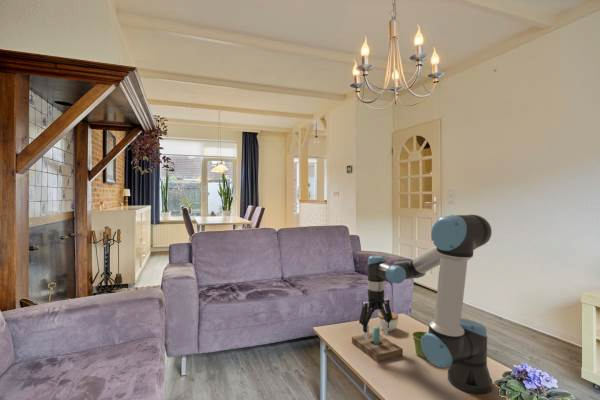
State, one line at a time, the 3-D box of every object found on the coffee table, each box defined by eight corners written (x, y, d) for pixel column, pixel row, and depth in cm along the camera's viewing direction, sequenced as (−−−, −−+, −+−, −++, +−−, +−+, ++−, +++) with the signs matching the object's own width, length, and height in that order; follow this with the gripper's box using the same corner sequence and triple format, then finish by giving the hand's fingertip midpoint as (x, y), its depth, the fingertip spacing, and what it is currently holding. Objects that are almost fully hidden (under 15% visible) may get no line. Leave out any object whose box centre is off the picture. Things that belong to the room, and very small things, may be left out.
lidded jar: (399, 333, 170) (399, 315, 170) (378, 332, 171) (378, 314, 171) (396, 325, 180) (396, 308, 180) (376, 324, 182) (376, 307, 182)
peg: (381, 349, 152) (380, 328, 151) (375, 351, 150) (375, 329, 150) (376, 347, 154) (376, 326, 154) (371, 348, 153) (371, 327, 153)
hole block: (402, 355, 146) (402, 348, 146) (376, 361, 140) (376, 354, 140) (375, 338, 164) (375, 332, 164) (351, 342, 159) (351, 336, 159)
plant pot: (436, 360, 141) (436, 340, 141) (413, 358, 143) (413, 339, 143) (432, 350, 150) (432, 332, 150) (410, 349, 152) (410, 330, 152)
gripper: (390, 284, 160) (390, 330, 160) (351, 289, 151) (351, 337, 151) (400, 288, 153) (400, 335, 153) (360, 294, 144) (360, 344, 144)
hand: (376, 336), depth 152 cm, fingers open, 10 cm apart
